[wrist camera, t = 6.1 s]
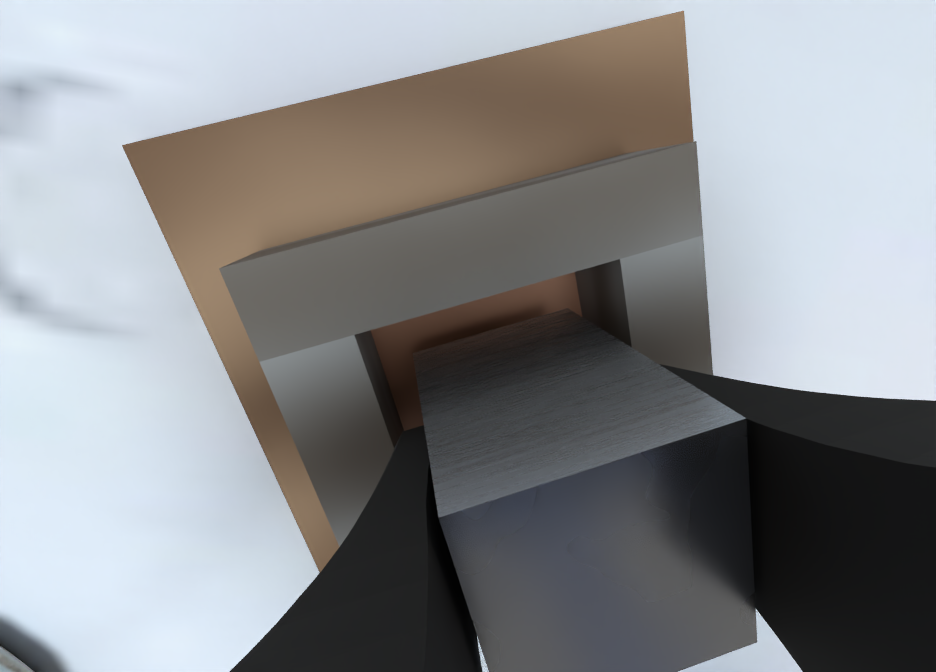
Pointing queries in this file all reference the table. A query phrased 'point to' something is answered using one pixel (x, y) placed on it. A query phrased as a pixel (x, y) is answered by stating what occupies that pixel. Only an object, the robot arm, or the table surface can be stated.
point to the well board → (394, 173)
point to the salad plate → (11, 662)
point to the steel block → (588, 501)
